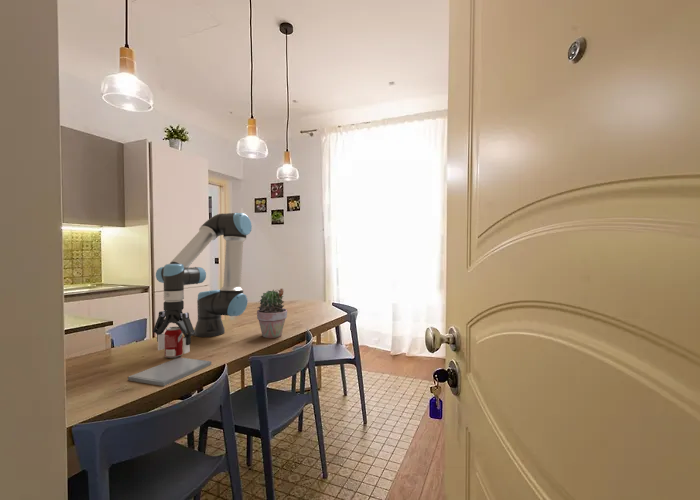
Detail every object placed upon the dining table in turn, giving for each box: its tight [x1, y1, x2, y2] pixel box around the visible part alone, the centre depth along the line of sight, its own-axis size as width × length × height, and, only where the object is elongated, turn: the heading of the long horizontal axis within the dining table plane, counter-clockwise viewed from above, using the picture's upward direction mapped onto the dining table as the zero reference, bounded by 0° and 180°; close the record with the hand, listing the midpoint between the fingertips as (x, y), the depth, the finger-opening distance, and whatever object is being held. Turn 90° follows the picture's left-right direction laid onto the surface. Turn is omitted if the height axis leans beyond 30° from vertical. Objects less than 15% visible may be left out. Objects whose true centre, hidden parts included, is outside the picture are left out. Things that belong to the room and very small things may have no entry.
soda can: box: [163, 326, 184, 359], centre depth 140 cm, size 7×7×12 cm
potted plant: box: [253, 288, 288, 339], centre depth 175 cm, size 18×20×25 cm
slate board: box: [127, 356, 212, 387], centre depth 123 cm, size 22×16×1 cm
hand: (173, 351), depth 140 cm, fingers open, 13 cm apart
